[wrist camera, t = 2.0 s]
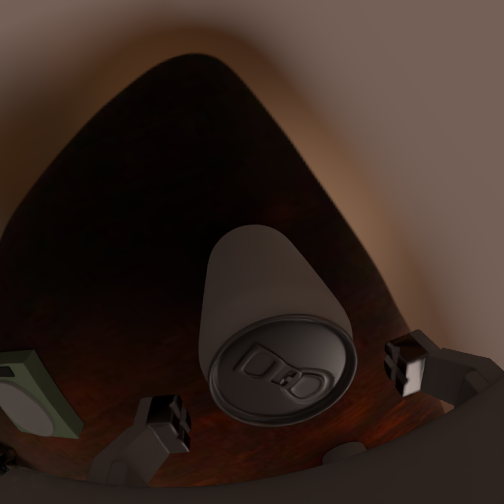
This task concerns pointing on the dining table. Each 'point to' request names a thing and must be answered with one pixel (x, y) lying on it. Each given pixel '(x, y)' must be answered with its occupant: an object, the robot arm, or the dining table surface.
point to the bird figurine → (7, 461)
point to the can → (271, 332)
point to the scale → (35, 397)
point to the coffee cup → (343, 452)
